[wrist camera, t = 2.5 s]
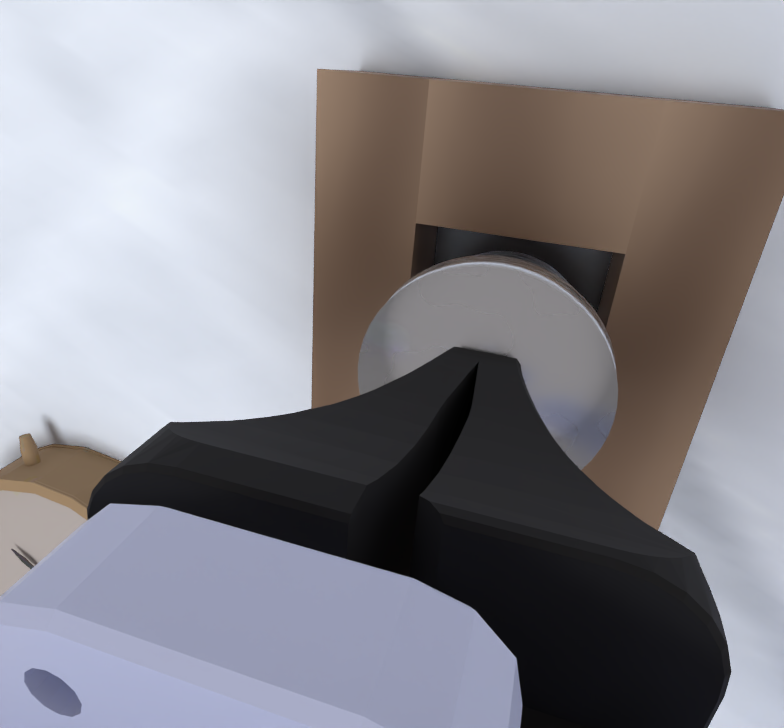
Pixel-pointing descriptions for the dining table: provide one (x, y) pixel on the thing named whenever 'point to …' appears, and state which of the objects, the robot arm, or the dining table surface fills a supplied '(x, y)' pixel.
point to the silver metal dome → (505, 339)
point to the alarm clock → (44, 502)
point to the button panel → (553, 229)
